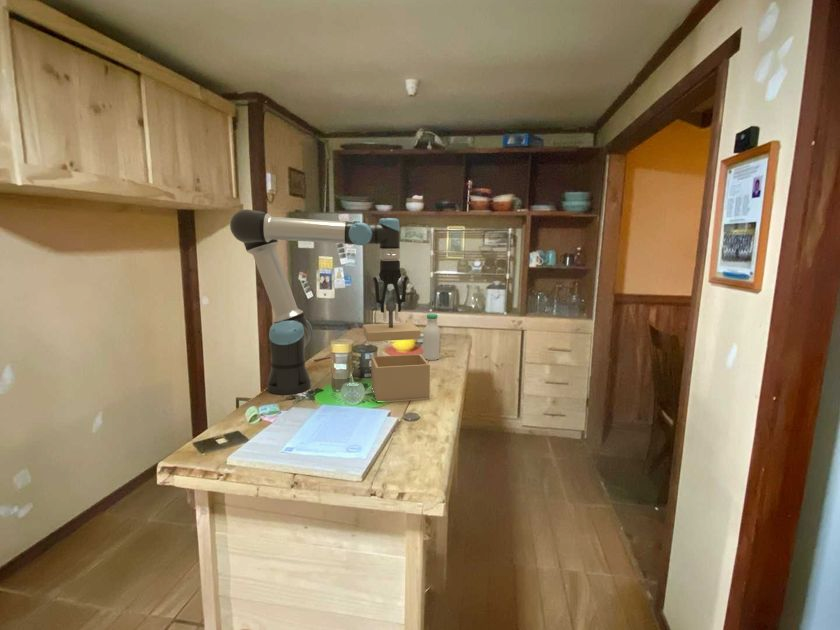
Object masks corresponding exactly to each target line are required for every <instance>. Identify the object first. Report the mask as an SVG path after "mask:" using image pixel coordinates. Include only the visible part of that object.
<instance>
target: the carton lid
mask: <svg viewBox="0 0 840 630" xmlns="http://www.w3.org/2000/svg"><path fill="white" fill-rule="evenodd" d="M395 303H396V302H394V301H387V302H386V303H385V304H386V312H388V323H372V324H371V323H368V324H367V323H366V324H363V325H362V329H363V330H362V332H363V335H364V337H365V339H366V342H368V343H369V342H371V343H372V342H389V341H392V342H393V341H404V340H405V341H409V340H421V330H420V329H419V327H417V325H415V324H414V322H413V321H412V322H394V312H395V308H396V305H395Z"/></svg>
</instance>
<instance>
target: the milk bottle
mask: <svg viewBox="0 0 840 630" xmlns="http://www.w3.org/2000/svg"><path fill="white" fill-rule="evenodd" d="M426 320H427V323H426V325H425V327H424V329H423V335H422V336H423V337H422V338H423V340H422V356H423V357H424V358H425V360H426V359H427V360H426V361H437V359H438V360H440V358H441V329H440V326H439V325H438V321H437V320H438V314H436V313H429V314H427V315H426Z"/></svg>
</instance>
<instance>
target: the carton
mask: <svg viewBox="0 0 840 630" xmlns="http://www.w3.org/2000/svg"><path fill="white" fill-rule="evenodd" d="M370 359H371V361H370V362H371V365H370V366H371V389H372V388H373V391H374V394H375V397H374V399H375V398H376V400H375V402H376V401H385V402H384V403H394V402H396V403H397V402H407V401H409V402H410V401H420V400H422V401H423V400H430V395H431V394H430V392H431V391H430V388H431V387H430V383H431V382H430V381H431V379H430V378H431V375H430V374H431V365H430V363H429V362H428V360H426V359H425V358H424V357H423V354H422V353H416V354H415V353H413V354H391V355H375V356H374V355H373V356H371V357H370ZM373 391H372V392H373ZM374 394H373V395H374Z"/></svg>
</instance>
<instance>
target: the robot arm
mask: <svg viewBox="0 0 840 630" xmlns="http://www.w3.org/2000/svg"><path fill="white" fill-rule="evenodd" d="M378 221H379V222H378V223H365V222H363V221H361V222H360V221H357V222H352V221H342V220H341V221H339V220H324V219H311V218H310V219H309V218H295V217H282V216H272V215H271V214H270V213H266V212H263V211H261V210H253V209H241V210H239V211H237V212H235V213H234V214H233V215H232V217H231V219H230V222H229V223H230V224H229V228H230V232H231V233H232V236H233V237H234V238H235V239H236V240H238V241H239V242H241V243H243V245H244V247H245V250H246V253H248V254H251V255H252V256H253V259H254V262H255V264H256V268H257V270H258V273H259V275H260V277H261V281H262V283H263V286H264V288H265V291H266V294H267V297H268V299H269V302H270V305H271V307H272V310H273V313H274V315H275V316H274V319H273V324H272V325H271V326H270V327H269V334H268V338H269V348H270V349H269V351H270V352H269V353H270V371H269V375H268V379H267V381H266V390H267V391H268V393H271V394H274V395H292V394H299V393H304V392H306V391H307V390H309V389H310V388H311V386H312V385H311V383H312V381H311V378H310V377H311V376H310V375H309V373H308V369H307V367H306V360H305V348H306V346H308V344H309V343H310V341H311V340H312V336H313V329H312V325H311V323H310V322H309V321H308V319H307V318H306V315H305V313H304V311H303V310H301V309H299V308H298V306H297V303H296V300H295V298H294V295H293V291H292V289H291V287H290V283H289V281H288V279H287V276H286V272H285V269H284V267H283V264H282V262H281V261H282V260H281V259H280V256H279V254H278V253H279V252H278V250H277V246H278V244H279V241H290V242H291V241H293V242H310V243H327V244H344V245H356V246H365V245H379V259H380V261H379V270H380V271H379V273H378V275H376V276H373V277H372V280H373V283H374V297H375V299H374V300H375V303H377V304H380V313H382V314H383V317H382V318H383V319H382V320H383V322H387V310H386V304H387V303H385V301H386V297H387V290H388V287H389V285H392V286H393V290H394V295H395V300H396V302H394V303H395V305H396V308H395V310H394V319H395V322H398V321H399V313H401V311H402V304H403V303H405V302H406V297H407V294H406V293H407V282H408V278H409V277H408V276H406V275H403V274H402V272H401V261H400V260H399V259H401V254H400V253H401V252H400V251H401V249H400V248H401V247H400V244H401V243H400V242H401V241H400V239H401V236H400V235H401V230H400V229H401V228H400V219H398V218H393V217H392V218H391V217H387V218H386V217H385V218H380V219H379V220H378ZM380 279H381V281H382V282H383V283H382V290H381V296H380V289H379V288H380V287H379V282H380ZM398 281H401V297H400V291H399V287H398V285H399V284H398Z"/></svg>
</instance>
